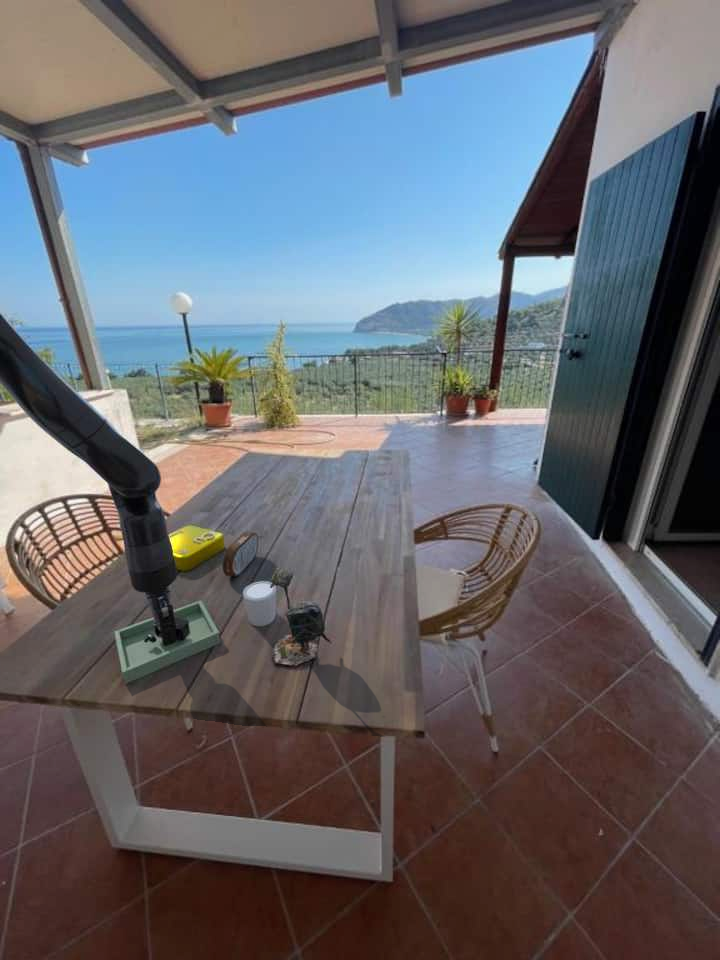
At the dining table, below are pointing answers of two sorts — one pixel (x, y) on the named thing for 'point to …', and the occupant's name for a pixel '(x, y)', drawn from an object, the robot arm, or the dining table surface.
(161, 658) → the pale tray
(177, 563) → the element tile
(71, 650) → the dining table surface
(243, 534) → the brown digital clock
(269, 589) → the white cylinder
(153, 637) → the wireless earbuds
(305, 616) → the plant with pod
